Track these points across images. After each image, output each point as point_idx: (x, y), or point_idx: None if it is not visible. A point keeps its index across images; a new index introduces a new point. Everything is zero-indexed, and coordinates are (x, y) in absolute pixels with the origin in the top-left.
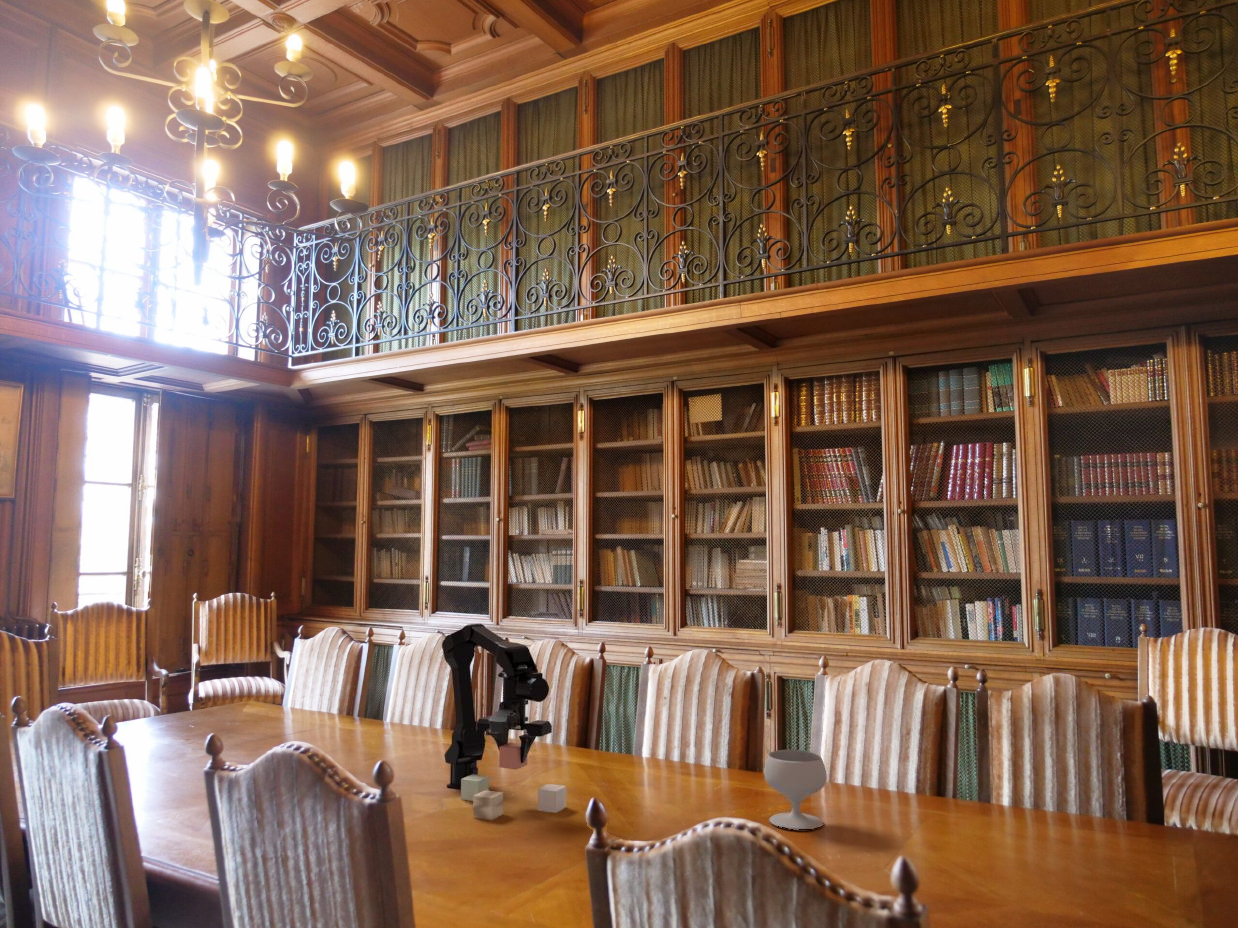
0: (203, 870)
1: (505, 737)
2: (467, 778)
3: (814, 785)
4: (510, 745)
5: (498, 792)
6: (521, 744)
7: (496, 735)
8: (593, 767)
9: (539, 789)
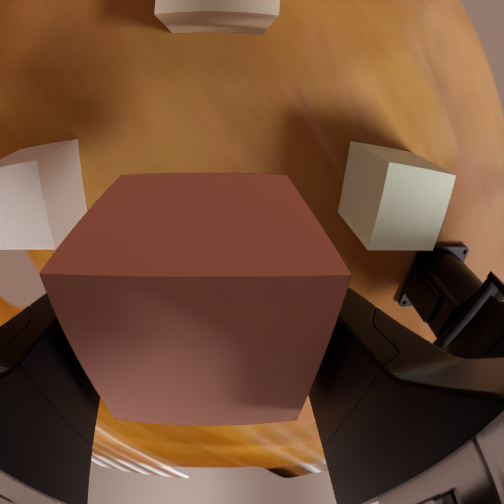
0: None
1: (342, 441)
2: (438, 190)
3: None
4: (224, 360)
5: (180, 3)
6: (23, 347)
7: (483, 386)
8: (198, 439)
9: (32, 160)
